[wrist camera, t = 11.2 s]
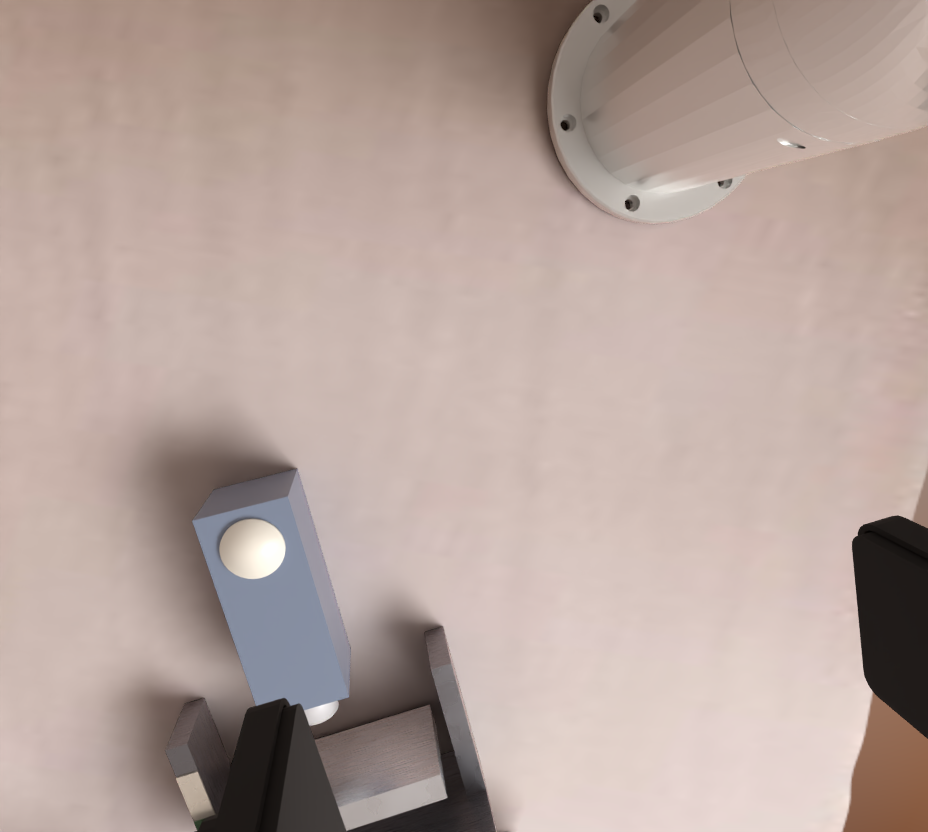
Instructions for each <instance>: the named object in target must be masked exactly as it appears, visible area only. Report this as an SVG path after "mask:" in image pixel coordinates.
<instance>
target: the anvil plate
mask: <svg viewBox="0 0 928 832" xmlns="http://www.w3.org/2000/svg"><path fill="white" fill-rule="evenodd" d="M315 743H316V746H317V748H318V751H319V754H320V757H321V760H322V763H323V766H324V768H325V771H326V774H327V777H328V780H329V783H330V785H331V788H332V791H333V794H334V797H335V800H336V803H337V805H338V808H339V811H340V814H341V817H342V820H343V822H344V825H345V828H346V831H347V830H351V829H354V828H357V827H360V826H363V825H366V824H369V823H372V822H375V821H378V820H381V819H384V818H388V817H391V816H394V815H397V814H400V813H403V812H406V811H409V810H412V809H415V808H418V807H421V806H425V805H428V804H431V803H434V802H437V801H440V800H443V799H446V798H447V792H446V786H445V780H444V774H443V767H442V761H441V755H440V749H439V742H438V736H437V730H436V724H435V721H434V717H433V714H432V711H431V707H430V704H429V705H426V706H423V707H420V708H416V709H413V710H410V711H407V712H404V713H400V714H397V715H394V716H391V717H387V718H384V719H381V720H378V721H375V722H371V723H368V724H365V725H362V726H358V727H355V728H352V729H349V730H345V731H342V732H339V733H336V734H333V735H329V736H326V737H323V738H320V739H316V740H315ZM196 832H198V831H196Z"/></svg>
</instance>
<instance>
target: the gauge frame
mask: <svg viewBox="0 0 928 832" xmlns="http://www.w3.org/2000/svg"><path fill="white" fill-rule="evenodd" d="M425 638H426V644H427V650H428V656H429V662H430V668H431V672H432V675H433V679H434V682H435V686H436V689H437V693H438V696H439V700H440V703H441V707H442V710H443V714H444V717H445V721H446V724H447V728H448V731H449V735H450V738H451V742H452V745H453V749H454V751H453V752H450V753H446V754H443V755H441V761H442V767H443V774H444V780H445V786H446V792H447V798H446V799H443V800H440V801H437V802H434V803H431V804H428V805H425V806H421V807H418V808H415V809H412V810H409V811H406V812H403V813H400V814H397V815H394V816H391V817H388V818H384V819H381V820H378V821H375V822H372V823H369V824H366V825H363V826H360V827H357V828H354V829H351V830H347V832H497V829H496V825H495V821H494V817H493V813H492V809H491V804H490V800H489V796H488V792H487V788H486V783H485V779H484V775H483V771H482V767H481V763H480V759H479V755H478V752H477V748H476V744H475V741H474V737H473V733H472V730H471V726H470V723H469V719H468V715H467V712H466V708H465V704H464V701H463V697H462V694H461V690H460V686H459V683H458V679H457V676H456V672H455V668H454V665H453V661H452V657H451V654H450V650H449V647H448V643H447V639H446V636H445V632H444V629H443V627H440V628H436V629H433V630H430V631H426V632H425ZM165 752H166V754H167V756H168V759H169V761H170V764H171V766H172V768H173V771H174V773H175V776H176V780H177V783H178V785H179V788H180V790H181V792H182V795H183V797H184V800H185V802H186V804H187V807H188V809H189V812H190V814H191V816H192V819H193V821H194V823H195V826H196V828H197V831H198V830H199V827H200V825H201V823H202V822H203V821H204V820H205V818H206V817H209V816H213V815H216V814H218V813H219V809H220V806H221V802H222V798H223V795H224V791H225V787H226V784H227V780H228V776H229V773H230V769H231V765H230V762H229V760H228V757H227V755H226V752H225V750H224V747H223V745H222V742H221V739H220V737H219V734H218V732H217V729H216V727H215V724H214V722H213V719H212V716H211V714H210V711H209V709H208V706H207V704H206V701H205V699H204V698H202V699H199V700H196V701H192V702H189V703H186V704H184V706H183V709H182V711H181V713H180V716H179V718H178V721H177V723H176V726H175V728H174V730H173V733H172V735H171V738H170V740H169V742H168V745H167V747H166V750H165Z"/></svg>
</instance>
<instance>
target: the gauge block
mask: <svg viewBox="0 0 928 832" xmlns="http://www.w3.org/2000/svg"><path fill="white" fill-rule="evenodd" d="M192 522H193V525H194V528H195V531H196V534H197V537H198V539H199V542H200V545H201V548H202V551H203V554H204V557H205V560H206V563H207V565H208V568H209V571H210V574H211V577H212V580H213V583H214V586H215V589H216V591H217V594H218V597H219V600H220V603H221V606H222V609H223V612H224V615H225V618H226V620H227V623H228V626H229V629H230V632H231V635H232V638H233V641H234V644H235V646H236V649H237V652H238V655H239V658H240V661H241V664H242V667H243V670H244V672H245V675H246V678H247V681H248V684H249V687H250V690H251V693H252V696H253V698H254V701H255V704H256V706H258V705H261V704H264V703H268V702H271V701H274V700H278V699H281V698H286V699H287V700H288V702H289V704H290V706H292V705H295V704H298V703H299V704H301V705H302V707H303V709H304V712H305V714H306V717H307V720H308V723H309V726H312V725H317V724H320V723H322V722H324V721H326V720H328V719H329V718H331V717H332V716H333V715H334V714H335V712H336V711H337V709H338V706H339V703H338V700H342V699H345V698H349V684H350V657H351V647H350V644H349V641H348V637H347V634H346V631H345V627H344V624H343V620H342V617H341V614H340V610H339V607H338V604H337V600H336V597H335V593H334V590H333V587H332V583H331V580H330V577H329V573H328V570H327V566H326V563H325V560H324V556H323V553H322V550H321V546H320V543H319V539H318V536H317V533H316V529H315V526H314V523H313V519H312V516H311V512H310V509H309V506H308V502H307V499H306V496H305V492H304V489H303V485H302V482H301V479H300V475H299V472H298V469H294V470H290V471H286V472H282V473H278V474H274V475H270V476H266V477H262V478H258V479H254V480H250V481H246V482H242V483H238V484H234V485H230V486H226V487H222V488H218V489H214V490H213V491H212V493H211V494H210V496H209V497H208V499H207V500H206V501H205V503H204V504H203V506H202V507H201V509H200V510H199V512H198V513H197V514H196V516H195V517H194V519H193V520H192Z"/></svg>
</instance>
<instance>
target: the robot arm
mask: <svg viewBox="0 0 928 832" xmlns="http://www.w3.org/2000/svg"><path fill="white" fill-rule="evenodd" d="M593 16H597V17H598V18H599V23H598V22H596V21H595V20H594V17H593ZM547 115H548V122H549V129H550V136H551V139H552V142H553V145H554V148H555V151H556V154H557V157H558V159H559V161H560V163H561V165H562V167H563V168H564V170H565V172H566V174H567V176H568V178H569V179H570V180H571V181H572V182H573V184H574V185H575V186H576V187H577V189H578V190H579V191H580V192H581V193H582V195H584V196H585V197H586V198H587V199H589V200H590V201H591V202H592V203H593V204H595V205H596V206H597V207H598V208H600V209H602V210H604V211H606V212H608V213H609V214H611V215H613V216H615V217H617V218H621V219H624V220H628V221H631V222H635V223H646V224H660V223H670V222H675V221H679V220H683V219H687V218H691V217H694V216H696V215H698V214H700V213H702V212H704V211H706V210H709V209H711V208H712V207H714V206H715V205H716V204H718V203H719V202H720V201H722V200H723V199H724V198H726V197H727V196H729V194H730V193H731V192H732V191H733V190H734V189H735V188H736V187H737V186H738V185H739V184H740V183H741V182H742V181H743V180H744V178H745V177H746V175H747V174H750V173H754V172H758V171H762V170H766V169H770V168H774V167H778V166H781V165H785V164H789V163H793V162H797V161H801V160H805V159H809V158H813V157H817V156H821V155H825V154H828V153H832V152H836V151H840V150H844V149H848V148H852V147H856V146H860V145H864V144H868V143H871V142H875V141H879V140H882V139H884V138H888V137H892V136H896V135H899V134H903V133H907V132H911V131H914V130H917V129H920V128H923V127H926V126H928V0H593V1H591V2H590V3H589V4H588V5H587V6H586V7H585V8H584V10H583V11H582V12H581V13H580V14H579V16H578V17H577V18H576V19H575V20H574V22H573V23H572V25H571V27H570V28H569V30H568V32H567V33H566V35H565V36H564V38H563V40H562V41H561V44H560V46H559V49H558V51H557V54H556V57H555V59H554V62H553V64H552V69H551V74H550V79H549V84H548V95H547ZM561 122H565V123H566V124H567V126H568V127H567V130H566V131H564V130H563V129H562V128H561V126H560V124H561ZM719 181H720V185H718V182H719ZM625 200H627V201H629V203H630V207H629V209H626V207H625ZM852 552H853V562H854V573H855V584H856V594H857V605H858V616H859V627H860V637H861V648H862V659H863V669H864V675H865V678H866V681H867V683H868V685H869V686H870V688H871V689H872V691H873V692H874V693H875V694H876V695H877V696H878V697H879V698H880V699H881V700H882V701H883V702H885V703H886V704H887V705H889V707H891V708H892V709H893V710H894V711H895V712H897V713H898V714H899V715H900V716H901V717H902V718H904V719H905V720H906V721H907V722H909V723H910V724H911V725H912V726H913V727H914V728H916V729H917V730H918V731H919V732H920V733H921V734H923V735H924V736H925V737H926V738H928V528H925V527H923V526H921V525H919V524H917V523H915V522H913V521H911V520H908V519H906V518H904V517H901V516H891V517H888V518H885V519H881V520H878V521H875V522H871V523H868V524H864V525H863V526H861V527H860V529H859V531H858V536H856V537H855V538H854V539H853V541H852ZM198 832H347V831H346V828H345V825H344V822H343V820H342V817H341V814H340V811H339V808H338V805H337V803H336V800H335V797H334V794H333V791H332V788H331V785H330V783H329V780H328V777H327V774H326V771H325V768H324V766H323V763H322V760H321V757H320V754H319V751H318V748H317V746H316V743H315V740H314V737H313V734H312V731H311V729H310V726H309V723H308V720H307V717H306V714H305V712H304V709H303V707H302V705H301V704H299V703H298V704H295V705H292V706H290V704H289V702H288V700H287V699H286V698H281V699H278V700H274V701H271V702H268V703H264V704H261V705H258V706H254V707H251V708H249V709H247V712H246V714H245V718H244V721H243V725H242V729H241V732H240V736H239V740H238V743H237V747H236V751H235V754H234V758H233V762H232V765H231V769H230V773H229V776H228V780H227V784H226V787H225V791H224V795H223V798H222V802H221V806H220V809H219V813H218V814H216V815H213V816H209V817H206V818H205V820H204V821H203V822H202V823H201V825H200V827H199V830H198Z"/></svg>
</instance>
